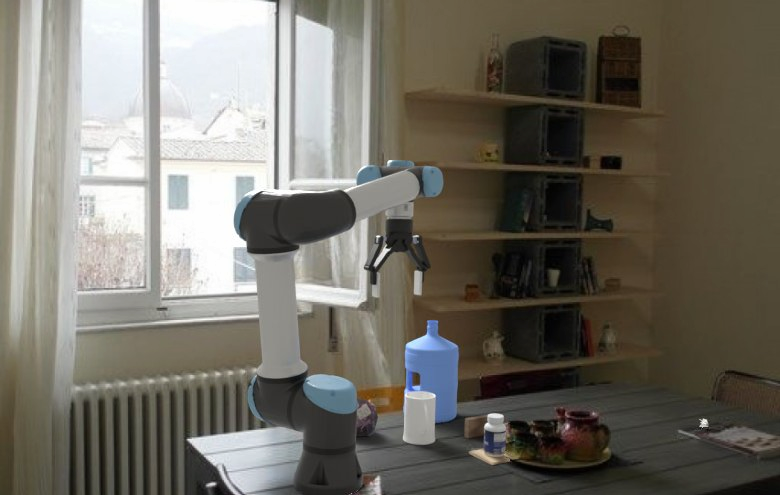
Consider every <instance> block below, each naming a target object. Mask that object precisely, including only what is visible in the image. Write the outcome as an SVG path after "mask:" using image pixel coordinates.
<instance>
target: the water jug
mask: <svg viewBox="0 0 780 495" xmlns="http://www.w3.org/2000/svg"><path fill="white" fill-rule="evenodd" d="M426 323H427V326H426V329H427V330H426V331H427V332H426V334H425V335H423V336H421V337H418V338H416V339H414V340H412V341H409V342H407V343H406V344H405V351H404V360H405V362H404V367H405V369H406V372H405V373H406V376H405V377H406V378H405V382H406V383H405V389H404V393H403V394H404V396H403V408H402V410H403V411H402V412H403V415H404V414H405V394H406V393H408V392H413V391H424V392H430V393H433V394H435V395H436V403H435V424H436V423H437V424H439V423H440V424H441V422H442V423H447V422H450V421H452V420H454V419H455V418H456V417H457V413H458V410H457V409H458V408H457V405H458V404H457V402H458V400H457V398H458V396H457V395H458V387H459V386H458V384H459V382H458V381H459V380H458V376H459V374H458V373H459V372H458V371H459V370H458V368H459V367H458V366H459V358H460V353H459V346H458V345H457V344H456V343H454V342H452V341H450V340H448V339H446V338H444V337H442V336H440V334H439V332H438V330H439V324H438V323H439V321H438V320H435V319H432V320H431V319H430V320H427V322H426ZM413 373H416V374H417V373H418V374H419V376H420V379H419V382H420V383H419V385H413Z"/></svg>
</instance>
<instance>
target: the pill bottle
mask: <svg viewBox="0 0 780 495" xmlns="http://www.w3.org/2000/svg"><path fill="white" fill-rule="evenodd" d="M487 415H488V418H487V421H488V423H486V424H485V426H484V435H483V449H484V454H485V455H487V456H490V457H502V456H504V454H505V450H506V445H507V444H506V426H505V425H504V424H503V423H505V422H504V421H505V417H504V415H503V414H501V413H496V412H495V413H494V412H493V413H488V414H487Z"/></svg>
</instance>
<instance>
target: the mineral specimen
mask: <svg viewBox="0 0 780 495" xmlns="http://www.w3.org/2000/svg"><path fill="white" fill-rule="evenodd" d="M357 401H358V407H357V426H356V437H368V436H369V437H370V436H372V435H373V434H374V433H375V430H376V427H377V422H378V419H379V418H378V417H379V416H378V413H377V409H376V405H375V403H373V402H370V401H368V400H366V399H364V398H357Z"/></svg>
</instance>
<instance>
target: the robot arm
mask: <svg viewBox="0 0 780 495" xmlns="http://www.w3.org/2000/svg"><path fill="white" fill-rule="evenodd" d="M355 180H356V181H355V182H356V183H355V184H356V186H352V187H350V188H346V189H345V190H343V189H341V188H332V189H329V190H324V191H323V190H322V191H315V190H313V191H309V190H284V189H259V190H258V189H257V190H252V191H250V192H248V193H246V194H245V195H243V196H242V197H241V199H240V201H238V203H237V205H236V207H235V211H234V214H233V227H234V230H235V233H236V234H237V235H238V237H239V238H240V239H241V240H243V241H244V242H245V245H246V254H247V255H249V256H250V257H251V258H252V259H253V260H254V268H255V270H254V271H255V282H256V294H257V308H258V322H259V323H258V324H259V333H260V334H259V335H260V347H261V349H260V350H261V364H260V365H259V366H258V367H257V368H256V374H255V375H254V377H253V378H252V380H251V381H250V384H251V385H250V386H249V387H248V390H247V403H248V407H249V409H250V411H251V412H252V414H253V415H254V416H255V418H256V419H258V420H260V421H262V422H265V423H267V424H268V425H270V426H275V427H276V426H278V427H281V428H285V429H288V430H292V431H295V432H298V433H302V451H301V454H300V457H299V459H298V462H297V463H298V464H297V466H296V468H295V472H294V476H293V487H294V489H295V490H296V491H297V492H299V493H301V494H303V495H349V494H351V493H354V492H356V491H357V490H359V489H360V488H361V487H362V488H363V486H362V485H364V475H363V474H364V473H363V471H362V468H361V464H360V461H359V457H358V454H357V436H356V426H357V407H358V401H357V399H358V393H357V392H358V390H357V388H356V386H355V384H354V383H353V382H351V381H350V380H348V379H346V378H344V377H341V376H337V375H333V374H331V375H328V374H324V373H323V374H322V373H321V374H320V373H319V374H312V375H310V376H309V369H308V364H307V363H306V362H305V361H304V360H302V359H301V350H300V347H301V346H300V335H299V334H300V332H299V331H300V330H299V318H298V306H297V290H296V275H295V261H294V259H295V258H294V257H295V256H296V255H297V253H298V252H299V251H301V250H300V249H301V246H305V245H307V246H308V245H311V244H314V243H319V242H322V241H325V240H328V239H331V238H333V237H335V236H338V235H340V234H343V233H346V232H348V231H349V230H351V229H353V228H354V226H355V224H356V223H358V222H361V221H363V220H365V219H367V218H371V217H373V216H376V215H378V214H380V213H383V212H385V216H386V219H385V220H384V222H385V224H384V226H385V228H384V231H385V236H383V235H378V234H377V235H375V237H374V243H373V245H372V249H371V251H370V253H369V255H368V257H367V259H366V261H365V263H364V266H363V270H364V271H367V272H368V273H369V283H370V285H371V286H372V287H371V288H372V290H371V297H373V298H378V299H379V298H381V297H380V296H381V295H380V294H381V272H379V271H380V269H381V268H382V267H383V265H384V264H385V262H387V260H388V258H389V257H390V256H391V255H392V254H394V253H405V255H406V256H408V258H409V260H410V261H411V262H412V264H413V266H414V267H415V269H416V270H414V277H413V295H415V296H422V294H423V293H422V292H423V291H422V290H423V287H422V286H423V283H424V282H425V272H427V271H428V269H429V270H430V269H431V268H432V265H431V263H430V259H429V257H428V255H427V252H426V250H425V247H424V244H423V237H422V235H416V234H415V235H413V234H412V233H413V231H414V220H413V219H412V218H413V217H414V204H415V203H414V201H415V200H416V199H418V198H421V197H422V198H423V197H426V198H432V197H433V198H435V197H438V195H440V194H441V192H442V190H443V187H444V175H443V173H442V171H441V169H440V168H439V167H437V166H428V165H422V166H421V165H417V166H415V163H414V161H412V160H403V159H402V160H401V159H399V160H398V159H393V160H391V159H390V160H388V161H387V163H386V165H383V166H382V165H374V164H373V165H372V164H371V165H365V166H363V167H361V168H360V169H359V171H358V172H357V174H356V179H355ZM412 243H413V245H414V248H415V250H414V248H413V246H412ZM383 245H385V246H384V247H383ZM382 248H383V249H382ZM381 250H382V251H381ZM415 251H416V252H415ZM362 488H361V489H362ZM361 489H360V490H361ZM360 490H359V491H360ZM356 493H357V492H356ZM354 494H355V493H354ZM351 495H352V494H351Z"/></svg>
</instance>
